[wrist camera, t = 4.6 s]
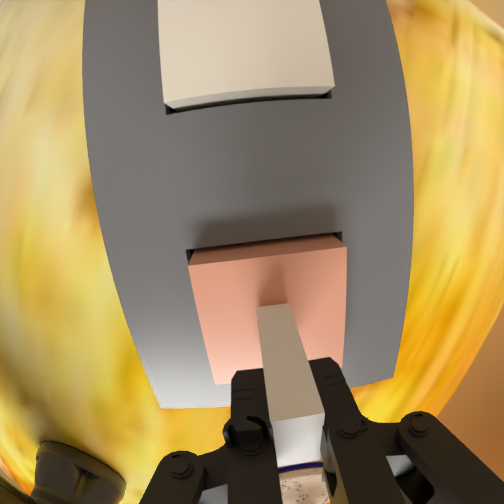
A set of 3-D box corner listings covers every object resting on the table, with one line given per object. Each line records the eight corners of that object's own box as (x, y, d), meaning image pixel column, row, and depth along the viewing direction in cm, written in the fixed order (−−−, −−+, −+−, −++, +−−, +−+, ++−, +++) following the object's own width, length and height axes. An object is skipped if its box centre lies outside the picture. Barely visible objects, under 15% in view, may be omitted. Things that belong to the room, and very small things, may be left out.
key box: (174, 356, 23) (160, 408, 17) (121, 8, 14) (89, -28, 8) (364, 332, 23) (393, 377, 18) (338, -13, 14) (366, -53, 9)
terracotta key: (218, 343, 19) (215, 384, 15) (199, 240, 16) (187, 265, 13) (324, 329, 19) (342, 367, 15) (322, 225, 17) (346, 246, 13)
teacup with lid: (271, 378, 24) (288, 494, 13) (347, 402, 26) (383, 495, 15) (213, 444, 27) (210, 534, 16) (283, 460, 29) (294, 540, 18)
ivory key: (181, 114, 14) (163, 102, 10) (173, 8, 12) (157, -25, 8) (312, 101, 14) (335, 86, 11) (294, -3, 12) (309, -38, 8)
